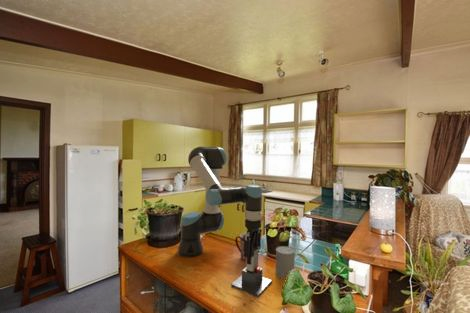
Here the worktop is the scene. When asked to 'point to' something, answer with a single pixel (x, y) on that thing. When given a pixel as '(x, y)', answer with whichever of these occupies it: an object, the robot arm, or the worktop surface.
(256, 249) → the column
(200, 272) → the worktop surface
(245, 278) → the stand base
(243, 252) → the mug
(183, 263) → the worktop surface
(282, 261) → the gray cylinder
